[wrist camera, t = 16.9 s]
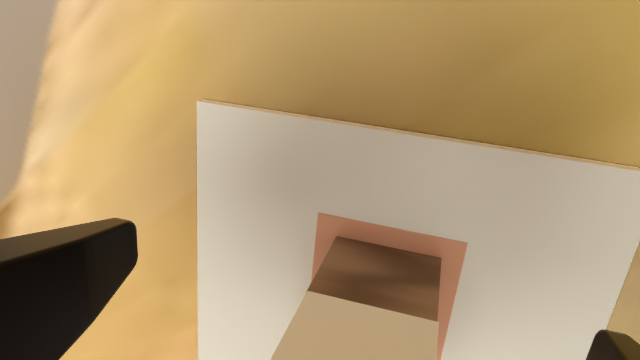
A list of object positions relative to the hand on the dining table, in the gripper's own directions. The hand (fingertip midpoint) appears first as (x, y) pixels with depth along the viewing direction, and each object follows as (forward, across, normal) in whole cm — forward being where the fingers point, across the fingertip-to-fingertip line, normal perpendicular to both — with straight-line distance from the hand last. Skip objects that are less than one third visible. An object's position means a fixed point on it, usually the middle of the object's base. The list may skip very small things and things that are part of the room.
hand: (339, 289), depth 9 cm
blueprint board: (+13, 0, +8) cm, 15 cm away
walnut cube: (+12, 0, +8) cm, 15 cm away
